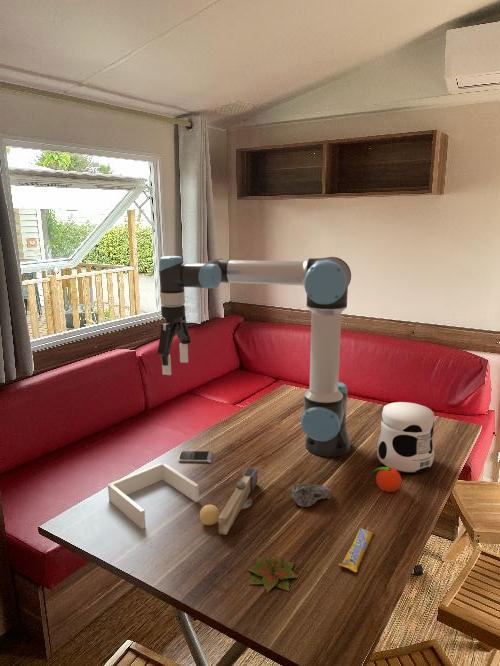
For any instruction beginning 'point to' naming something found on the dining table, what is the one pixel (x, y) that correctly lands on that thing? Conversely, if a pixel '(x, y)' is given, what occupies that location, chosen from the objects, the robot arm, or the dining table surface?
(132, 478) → the frame
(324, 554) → the dining table surface
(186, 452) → the cell phone
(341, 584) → the dining table surface
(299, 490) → the fossilized seashell
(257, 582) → the lily flower
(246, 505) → the pivot disc
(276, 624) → the dining table surface
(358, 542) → the candy bar
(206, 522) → the ball
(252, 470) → the lever
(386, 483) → the clementine
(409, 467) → the milk container
